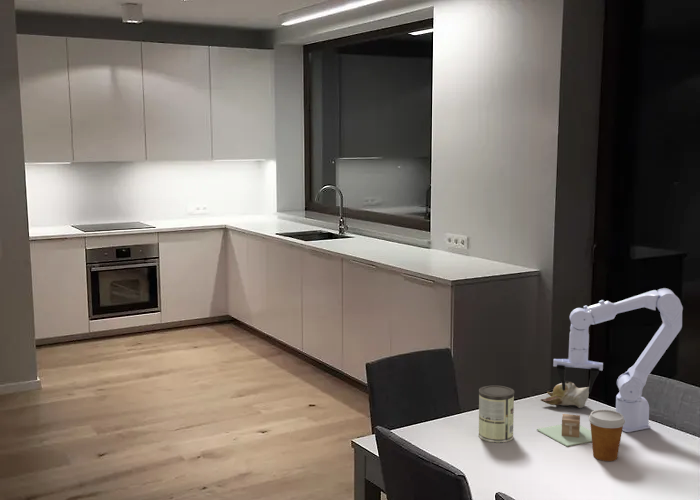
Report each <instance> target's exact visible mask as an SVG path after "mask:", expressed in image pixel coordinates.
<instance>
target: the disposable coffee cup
mask: <svg viewBox="0 0 700 500" xmlns="http://www.w3.org/2000/svg"><path fill="white" fill-rule="evenodd" d="M588 421H589V423H590V424H589V425H590V430H591V436H592V442H591V445H592V447H591V448H592V455H593V458H595V459H597V460H599V461H603V462H614V461H616V460H618V456H619V450H620V445H621V439H622V435H623V434H622V433H623V430H622V429H623V425H624V423H625V420H624V417H623V415H622V414H620V413H618V412H616V410H611V409H610V410H609V409H595V410H592V411H590V415H589V416H588Z"/></svg>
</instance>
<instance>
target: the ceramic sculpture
mask: <svg viewBox="0 0 700 500" xmlns="http://www.w3.org/2000/svg"><path fill="white" fill-rule="evenodd" d="M546 393H547V395H549V396H548V397H546V398H540V401H541V402H542V403H545V404H548V405H551V406H558V405H559V406H563V407H567V406H568V407H570V406H576V407H577V408H578V409H582V408H584V407H585V405H586V403H587V401H588V399H589V394H590V393H589V386H587V387H586V386H585V387H577V386H576V384H575V383H574V382H572V381H570V380H565V390H563V388H562V382H561V383H558V384H556V385H555V386H554V387H553V389H552V392H551V391H547V392H546Z"/></svg>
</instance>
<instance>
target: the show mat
mask: <svg viewBox="0 0 700 500" xmlns="http://www.w3.org/2000/svg"><path fill="white" fill-rule="evenodd" d="M537 430H538V432H539V431H540V432H539V433H541V434H543V435H545V436H546V437H548V438H550V439H553V440H554V441H555V442H557V443H559V444H561V445H562V446H565V447H571V446H572V447H573V446H577V445H583V444H589V443H592V436H591V429H589V428H586V427H585V426H582V425H581V424H580V432H579V438H578V437H569V436H562V423H561V424H557V425H551V426H546V427H541V428H536V431H537Z"/></svg>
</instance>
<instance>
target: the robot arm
mask: <svg viewBox="0 0 700 500" xmlns="http://www.w3.org/2000/svg"><path fill="white" fill-rule="evenodd" d="M641 308H646V309H649V310H651V311H656V308H657V310H658V312H660V313H659V314H660V318H661V321H662V323H661V325H660V326H659V328H658V329H657V331H656V332H655V333H654V335H653V336H652V338H651V340H650V341H649V342H648V344H647V345H646V347H645V348H644V350H643V351H642V352H641V354H640V355H639V357H638V358H637V360H636V361H635V363H634V364H633V365H632V366H631V367H629V368H628V369H627V371H625V372H624V373H622V374H620V375H619V376H618V378H617V379H616V386H617V388H618V391H619V392H618V393H617V394H616V396H615V412H618V413H620V414H622V415H623V417H624V420H625V423H624V425H623V429H622V432H625V433H631V432H637V431H642V430H647V429H651V426H650V425H649V423H650V421H649V420H650V405H649V402H648V400H647V399H646V398H645V396H642V395H643V389H644V387H645V386H646V383H647V380H648V377H649V375H650V374H651V372H652V371H653V370H654V368H655V367H656V366H657V364H658V362H659V361H660V359H661V358H663V357H662V356H664V354H665V353H666V350H668V349H669V347H670V345H671V344H672V343H673V341H674V340H675V338H677V335H678V334H679V333H680V332H681V330H682V328H683V310H684V306H683V305H682V302H681V299H680V298H679V297H678V295H676V294H675V293H674V291H673V290H671V289H669V288H666V287H663V288H659V289H657V290H656V289H653V290H649V291H646V292H643V293H640V294H638V295H633V296H631V297H628V298H625V299H623V300H619V301H617V302H611V301H609V300H606V301H605V300H604V299H601V300H599V301H598V303H595V304H592V305H589V306H588V305H583V307H576V308H574V309H572V311H571V312H570V314H569V321H570V326H569V330H570V331H569V338H568V339H569V340H568V358H553V364H552V366H553V367H556V372H557V373H558V376H559V377H560V381H561V383H562V388H563V390H565V383H566V369H567V368H575V369H576V368H577V369H588V370H589V371H590V373H589V384H588V387H589V394H590V393H592V389H593V386H594V383H595V381H596V379H597V377H598V376H599V373H600V371H601V372H602V371H603V369H604V362H599V361H593V360H589V347H590V345H589V343H590V334H589V333H590V332H589V327H590V326H591V325H597V324H601V323H604V322H607V321H611V320H614V319H615V317H616V315H618V314H621V313H625V312H629V311H633V310H634V311H635V310H637V309H641ZM603 372H604V371H603Z"/></svg>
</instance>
